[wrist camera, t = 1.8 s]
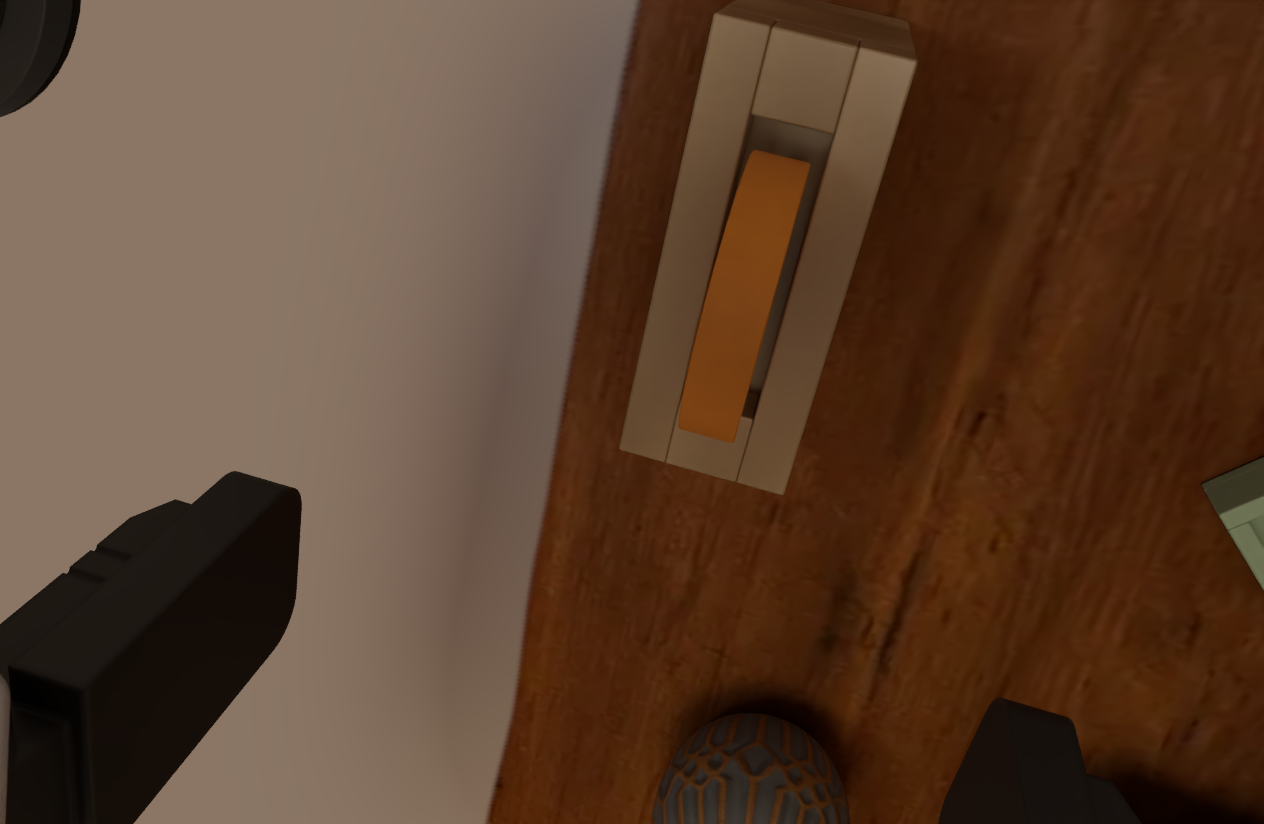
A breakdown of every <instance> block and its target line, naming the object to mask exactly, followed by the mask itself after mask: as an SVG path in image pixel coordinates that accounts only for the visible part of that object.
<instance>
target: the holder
mask: <svg viewBox="0 0 1264 824" xmlns="http://www.w3.org/2000/svg"><path fill="white" fill-rule="evenodd" d="M917 64H918V61H917V57H916V52H915V48H914V44H913V40H912V36H911V31H910V27H909V23H908V21H906V20H902V19H897V18H893V17H889V16H884V15H880V14H876V13H871V12H867V11H863V10H858V9H854V8H850V7H845V6H841V5H837V4H832V3H828V2H824V1H820V0H735V1H734V2H732V3H730V4H729V5H727V6H726V7H724V8H723V9H721V10H719V11H718V12H716V13H715V14H714V15H713V20H712V25H711V29H710V34H709V38H708V43H707V47H706V52H705V57H704V61H703V66H702V70H701V75H700V79H699V84H698V89H697V93H696V98H695V102H694V107H693V111H692V116H691V121H690V125H689V130H688V134H687V139H686V143H685V148H684V153H683V157H682V162H681V166H680V171H679V175H678V180H677V185H676V189H675V194H674V198H673V203H672V208H671V212H670V217H669V221H668V226H667V230H666V235H665V240H664V244H663V249H662V253H661V258H660V262H659V267H658V272H657V276H656V281H655V285H654V290H653V294H652V299H651V304H650V308H649V313H648V317H647V322H646V326H645V331H644V336H643V340H642V345H641V349H640V354H639V358H638V363H637V368H636V372H635V377H634V381H633V386H632V390H631V395H630V400H629V404H628V409H627V413H626V418H625V422H624V427H623V432H622V436H621V441H620V445H619V449H620V450H623V451H626V452H630V453H634V454H637V455H641V456H644V457H648V458H651V459H655V460H658V461H662V462H664V461H665V460H666V463H669V464H672V465H676V466H679V467H683V468H686V469H690V470H694V471H697V472H701V473H704V474H708V475H711V476H715V477H718V478H722V479H726V480H729V481H733V482H735V481H736V480H737V482H738V483H740V484H744V485H747V486H751V487H755V488H758V489H762V490H765V491H769V492H772V493H776V494H779V495H783V494H784V492H785V489H786V486H787V483H788V480H789V476H790V473H791V470H792V467H793V463H794V460H795V457H796V454H797V450H798V447H799V444H800V441H801V438H802V434H803V431H804V428H805V425H806V421H807V418H808V415H809V412H810V409H811V405H812V402H813V399H814V396H815V392H816V389H817V386H818V383H819V380H820V376H821V373H822V370H823V367H824V363H825V360H826V357H827V354H828V351H829V347H830V344H831V341H832V338H833V334H834V331H835V328H836V325H837V322H838V318H839V315H840V312H841V309H842V305H843V302H844V299H845V296H846V293H847V289H848V286H849V283H850V280H851V276H852V273H853V270H854V267H855V264H856V260H857V257H858V254H859V251H860V247H861V244H862V241H863V238H864V235H865V231H866V228H867V225H868V222H869V218H870V215H871V212H872V209H873V206H874V202H875V199H876V196H877V193H878V189H879V186H880V183H881V180H882V177H883V173H884V170H885V167H886V164H887V160H888V157H889V154H890V151H891V148H892V144H893V141H894V138H895V135H896V131H897V128H898V125H899V122H900V119H901V115H902V112H903V109H904V106H905V102H906V99H907V96H908V93H909V90H910V86H911V83H912V80H913V77H914V73H915V70H916V67H917ZM753 150H759V151H763V152H767V153H772V154H776V155H780V156H784V157H788V158H792V159H796V160H800V161H804V162H808V163H810V165H811V166H810V170H809V174H808V177H807V181H806V184H805V188H804V192H803V195H802V199H801V202H800V206H799V210H798V213H797V217H796V221H795V224H794V228H793V231H792V235H791V239H790V242H789V246H788V249H787V253H786V257H785V260H784V264H783V268H782V271H781V275H780V278H779V282H778V286H777V289H776V293H775V296H774V300H773V304H772V307H771V311H770V315H769V318H768V322H767V325H766V329H765V333H764V336H763V340H762V343H761V347H760V351H759V354H758V358H757V361H756V365H755V369H754V372H753V376H752V379H751V383H750V387H749V390H748V394H747V398H746V401H745V405H744V408H743V412H742V416H741V419H740V423H739V426H738V430H737V434H736V437H735V441H734V443H728V442H725V441H721V440H718V439H714V438H710V437H707V436H703V435H700V434H696V433H692V432H689V431H685V430H681V429H680V428H679V425H678V421H679V412H680V406H681V401H682V395H683V390H684V386H685V381H686V376H687V372H688V367H689V363H690V359H691V355H692V350H693V346H694V342H695V338H696V334H697V330H698V326H699V322H700V318H701V314H702V310H703V306H704V303H705V299H706V295H707V291H708V288H709V284H710V280H711V277H712V273H713V269H714V266H715V262H716V259H717V255H718V251H719V248H720V244H721V241H722V238H723V234H724V231H725V227H726V224H727V221H728V217H729V214H730V211H731V208H732V204H733V201H734V198H735V195H736V192H737V189H738V186H739V183H740V180H741V177H742V174H743V171H744V169H745V166H746V164H747V161H748V159H749V157H750V154H751V153H752V152H753Z"/></svg>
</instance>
